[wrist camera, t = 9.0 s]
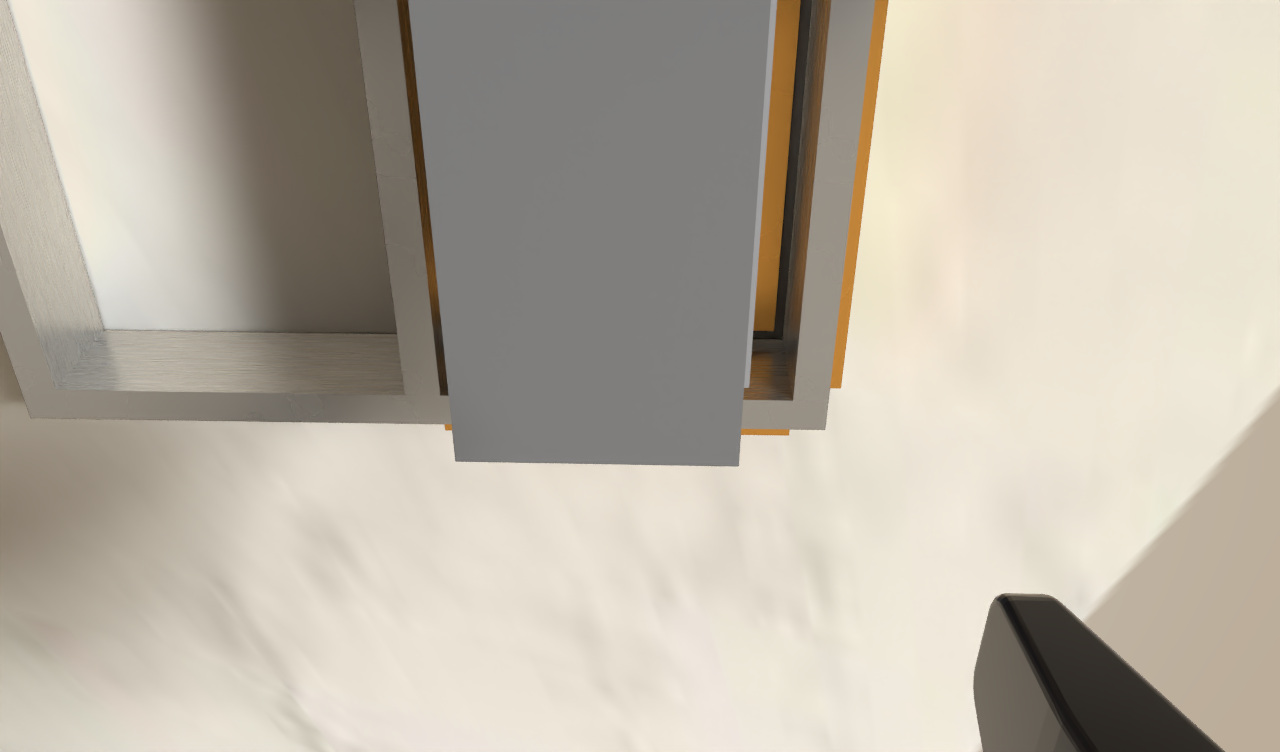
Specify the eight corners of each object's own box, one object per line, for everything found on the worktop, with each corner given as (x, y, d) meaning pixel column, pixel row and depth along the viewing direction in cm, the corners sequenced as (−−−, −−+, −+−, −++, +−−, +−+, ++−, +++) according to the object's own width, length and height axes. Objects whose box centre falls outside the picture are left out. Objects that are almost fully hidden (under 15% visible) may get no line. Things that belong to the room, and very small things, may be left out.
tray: (822, 376, 21) (835, 439, 20) (83, 365, 21) (33, 427, 20) (901, -341, 15) (931, -339, 13) (-140, -348, 15) (-241, -347, 14)
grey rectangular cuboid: (731, 294, 20) (749, 466, 16) (498, 291, 20) (455, 461, 16) (761, -209, 16) (796, -154, 12) (464, -213, 16) (391, -160, 12)
